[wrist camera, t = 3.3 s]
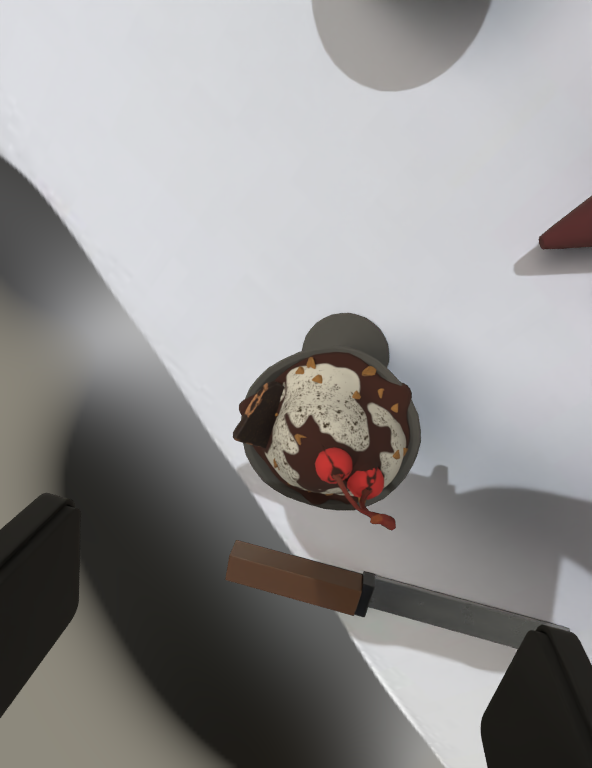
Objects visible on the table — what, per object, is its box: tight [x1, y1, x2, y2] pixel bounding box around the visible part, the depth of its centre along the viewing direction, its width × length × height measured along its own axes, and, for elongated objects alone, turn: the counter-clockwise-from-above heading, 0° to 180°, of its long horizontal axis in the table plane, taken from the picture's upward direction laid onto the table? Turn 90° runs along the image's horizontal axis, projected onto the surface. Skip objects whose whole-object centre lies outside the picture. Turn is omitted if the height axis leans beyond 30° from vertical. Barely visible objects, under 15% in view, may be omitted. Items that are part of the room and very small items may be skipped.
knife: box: [226, 540, 570, 649], centre depth 31 cm, size 23×3×2 cm, turn 79°
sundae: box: [233, 313, 421, 530], centre depth 19 cm, size 7×7×15 cm
